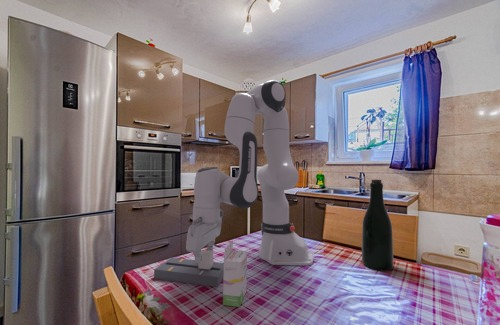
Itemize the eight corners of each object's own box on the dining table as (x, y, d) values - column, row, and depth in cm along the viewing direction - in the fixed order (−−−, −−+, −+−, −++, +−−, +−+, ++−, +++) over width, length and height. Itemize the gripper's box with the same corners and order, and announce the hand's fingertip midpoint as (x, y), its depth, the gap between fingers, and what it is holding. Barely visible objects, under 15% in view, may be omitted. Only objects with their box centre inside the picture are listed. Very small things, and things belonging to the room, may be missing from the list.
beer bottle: (384, 260, 89) (383, 179, 90) (399, 272, 78) (398, 180, 80) (357, 259, 90) (357, 178, 91) (368, 270, 79) (368, 179, 81)
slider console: (227, 272, 77) (227, 263, 77) (217, 287, 67) (217, 276, 67) (171, 265, 82) (171, 257, 82) (154, 278, 72) (154, 269, 72)
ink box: (240, 308, 57) (241, 250, 58) (222, 305, 58) (223, 249, 59) (247, 290, 66) (248, 240, 66) (231, 288, 67) (232, 239, 67)
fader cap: (213, 270, 75) (213, 250, 75) (209, 274, 72) (210, 254, 72) (202, 268, 75) (202, 249, 76) (198, 272, 72) (198, 253, 73)
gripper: (201, 222, 63) (199, 271, 63) (224, 210, 83) (223, 247, 82) (181, 220, 64) (179, 268, 64) (209, 209, 84) (207, 245, 84)
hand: (204, 256), depth 73 cm, fingers open, 8 cm apart
